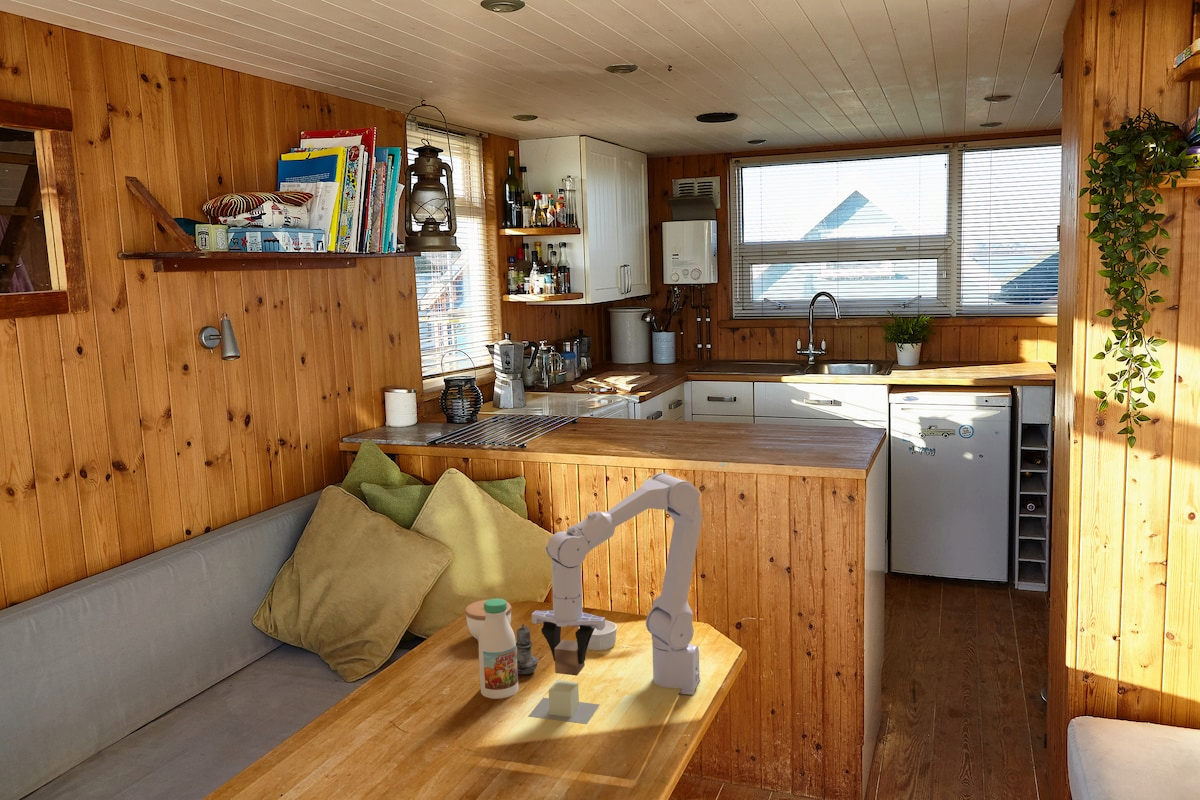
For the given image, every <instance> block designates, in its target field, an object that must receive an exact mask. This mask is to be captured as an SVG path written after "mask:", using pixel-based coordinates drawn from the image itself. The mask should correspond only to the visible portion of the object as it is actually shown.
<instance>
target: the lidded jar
mask: <svg viewBox="0 0 1200 800" xmlns="http://www.w3.org/2000/svg"><path fill="white" fill-rule="evenodd" d="M490 599H491V598H489V599H482V600H477V601H475V602H472V603H470V604H468V605H467V606H466V608H465V615H466V616H465V617H466V623H467V624H466V625H467V628H468V631H469V632H470V635H471V636H472V637H473V638H474V639H476V641H477V642H478V643H479V637H480V633H481V630H482V628H483V625H484V622H485V618H486V614H485V613H484V611H485V610H484V603H485V602H486V601H487V600H490ZM506 603H507V612H506V617H507V620H508V622H509V624H510V625H511V622H512V605H511V604H510V602H508V601H506Z"/></svg>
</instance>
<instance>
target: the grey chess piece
mask: <svg viewBox="0 0 1200 800" xmlns="http://www.w3.org/2000/svg"><path fill="white" fill-rule="evenodd" d="M520 626H521V627H518V629H517V630H516V651H517V670H518V675H524V676H525V675H530V674H533V672H534V671H535V670H536V668H537V666H538V663H539V657H537V656H535V655H533V654H532V646H533V642H532V641H531V630H530V628H529V627H526V626H525V623H522V624H521V625H520Z"/></svg>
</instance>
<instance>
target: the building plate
mask: <svg viewBox="0 0 1200 800" xmlns="http://www.w3.org/2000/svg"><path fill="white" fill-rule="evenodd" d="M600 705H601V704H598V703H590V702H584V701H579V707H578V708H577V710H576V711H575V713H574V714H573V715H572V717H567V716H559V715H551V714H549V697H542V698H541V700H540V701H539V702H538V703H537V704H536V706H535V707H534V709H533V710H531V712H530V713H529V715H528V718H536V719H537V718H538V719H545V720H554V721H561V722H569V723H577V724H583V725H587V724H588V723H589V722H590V721H591V719H592V717H593V716H594V714H595V712H596V711H597V710H598V709H599V707H600Z"/></svg>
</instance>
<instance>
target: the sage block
mask: <svg viewBox="0 0 1200 800" xmlns="http://www.w3.org/2000/svg"><path fill="white" fill-rule="evenodd" d="M579 695H580V694H579V682H577V681H569V680H560V679H556V680H555V681H554V683H553V684H552V685H551V687H549V689H548V698H549V714H551V715H559V716H567V717H572V715H573V714H574V713H575V711H576V710H577V708H578V707H579V702H580V700H579V698H580V697H579Z"/></svg>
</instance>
